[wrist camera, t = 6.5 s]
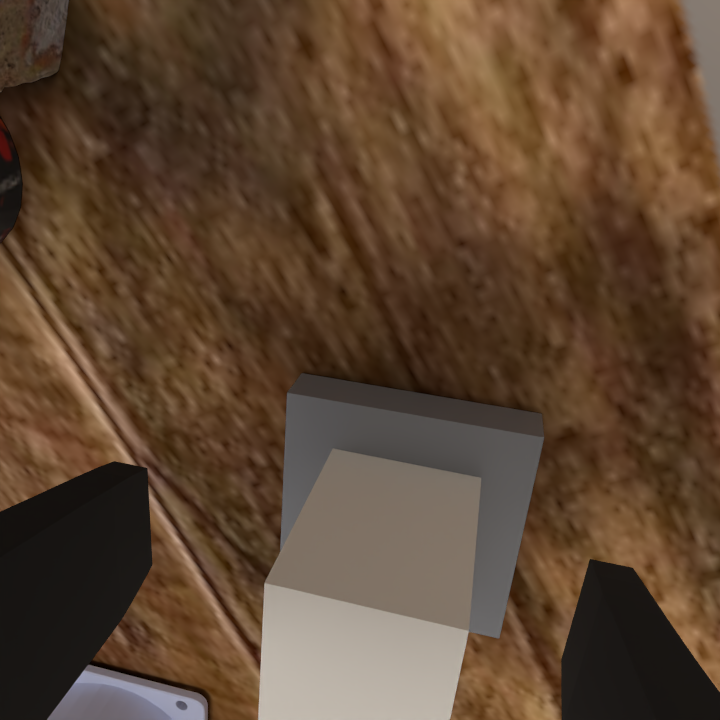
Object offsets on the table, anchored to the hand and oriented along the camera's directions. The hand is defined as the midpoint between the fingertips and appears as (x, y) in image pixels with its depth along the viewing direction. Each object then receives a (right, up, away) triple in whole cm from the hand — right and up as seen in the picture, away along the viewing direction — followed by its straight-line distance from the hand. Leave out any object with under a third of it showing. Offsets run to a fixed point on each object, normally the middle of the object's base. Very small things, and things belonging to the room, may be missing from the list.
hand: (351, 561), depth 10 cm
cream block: (+1, -2, +10) cm, 10 cm away
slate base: (+2, -1, +11) cm, 11 cm away
